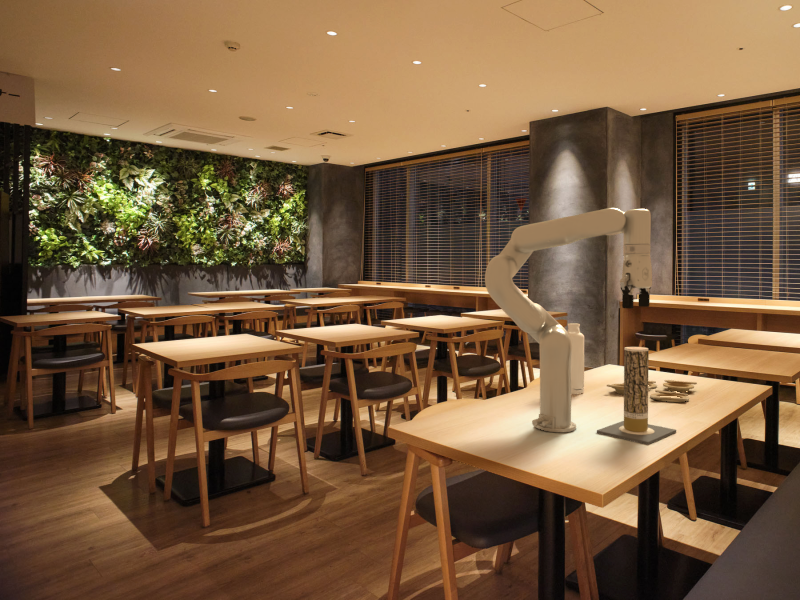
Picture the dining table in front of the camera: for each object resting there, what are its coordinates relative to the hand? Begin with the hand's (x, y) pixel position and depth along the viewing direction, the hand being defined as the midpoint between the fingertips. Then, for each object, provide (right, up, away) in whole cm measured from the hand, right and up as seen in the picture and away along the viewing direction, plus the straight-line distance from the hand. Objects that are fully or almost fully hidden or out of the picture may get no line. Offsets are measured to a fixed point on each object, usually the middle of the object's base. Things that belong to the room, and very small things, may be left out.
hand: (636, 307), depth 171 cm
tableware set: (+31, -36, +58) cm, 75 cm away
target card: (+1, -38, +1) cm, 38 cm away
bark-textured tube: (0, -38, +1) cm, 38 cm away
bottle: (-1, -36, +59) cm, 69 cm away
